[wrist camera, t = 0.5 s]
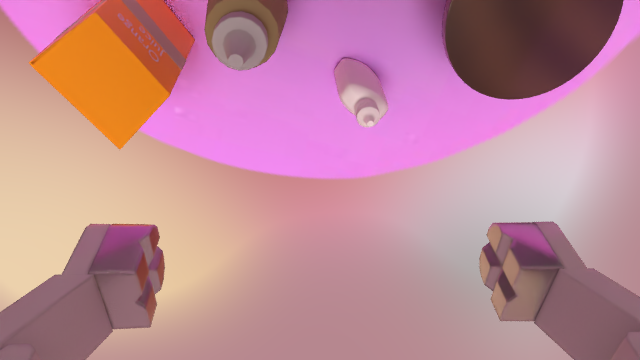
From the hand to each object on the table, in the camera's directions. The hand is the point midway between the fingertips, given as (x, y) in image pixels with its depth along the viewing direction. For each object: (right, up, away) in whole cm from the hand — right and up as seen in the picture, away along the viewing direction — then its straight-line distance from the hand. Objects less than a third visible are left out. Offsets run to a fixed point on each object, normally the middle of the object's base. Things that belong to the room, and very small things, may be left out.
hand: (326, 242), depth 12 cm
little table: (+19, +23, +41) cm, 50 cm away
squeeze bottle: (-8, +21, +40) cm, 46 cm away
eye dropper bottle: (+4, +14, +46) cm, 49 cm away
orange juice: (-20, +19, +41) cm, 49 cm away
